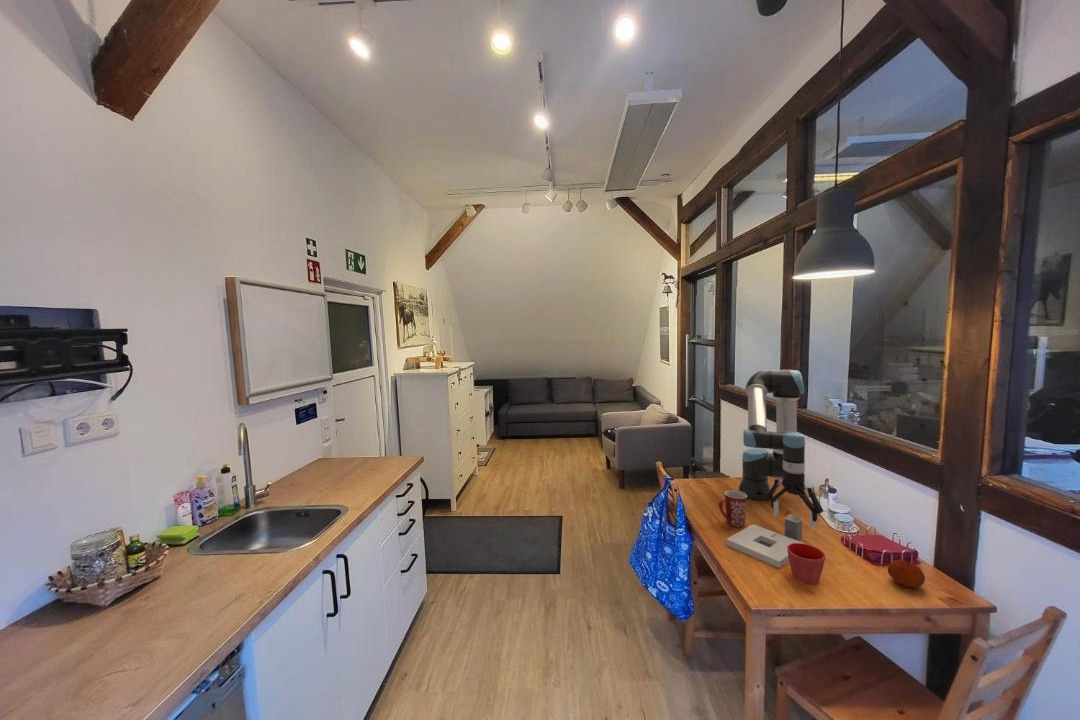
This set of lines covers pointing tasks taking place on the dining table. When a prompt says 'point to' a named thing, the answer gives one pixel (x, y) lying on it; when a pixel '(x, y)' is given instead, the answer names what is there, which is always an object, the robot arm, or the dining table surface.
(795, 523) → the plug
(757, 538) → the socket plate
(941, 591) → the dining table surface
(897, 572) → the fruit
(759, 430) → the robot arm
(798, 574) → the flower pot
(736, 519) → the mug
